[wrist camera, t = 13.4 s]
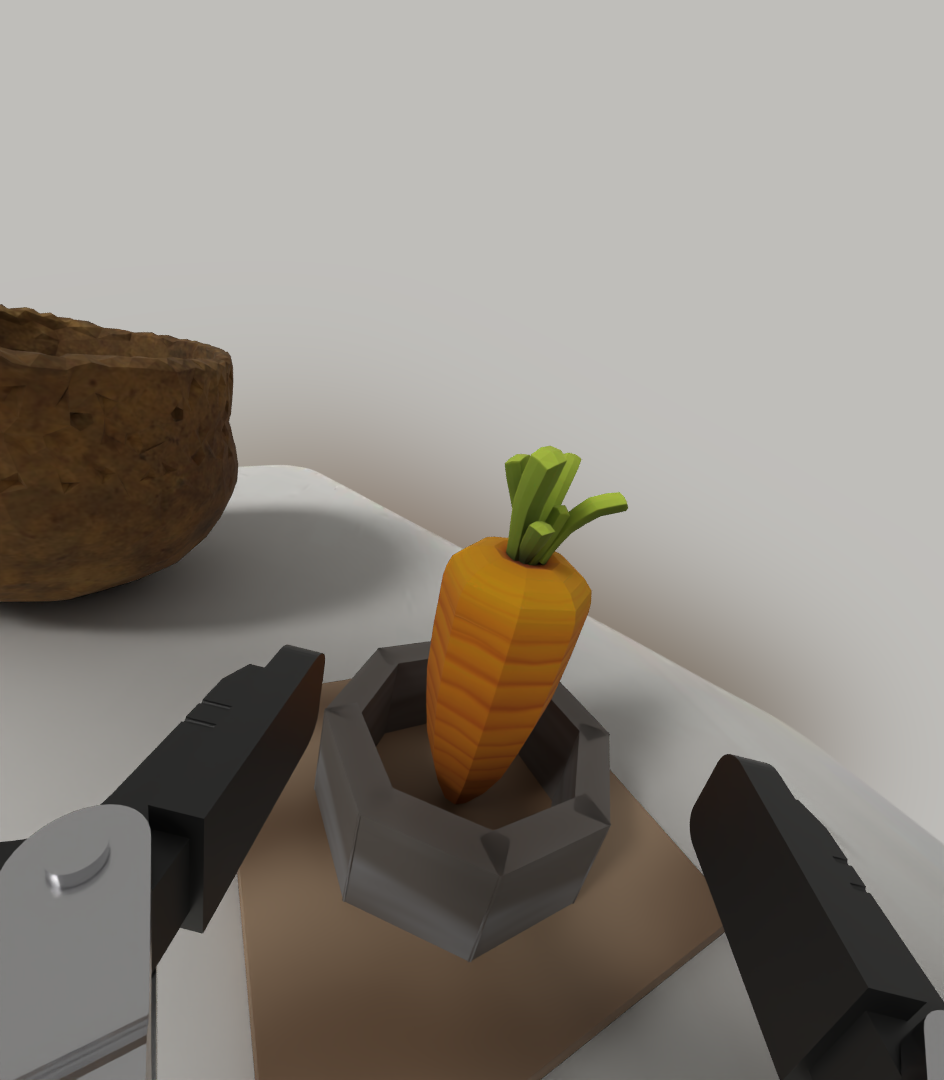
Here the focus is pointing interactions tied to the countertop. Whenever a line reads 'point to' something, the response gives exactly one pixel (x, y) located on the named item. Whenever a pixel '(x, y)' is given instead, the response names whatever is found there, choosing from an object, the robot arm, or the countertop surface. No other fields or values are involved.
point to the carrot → (507, 627)
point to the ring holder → (453, 898)
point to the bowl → (106, 453)
